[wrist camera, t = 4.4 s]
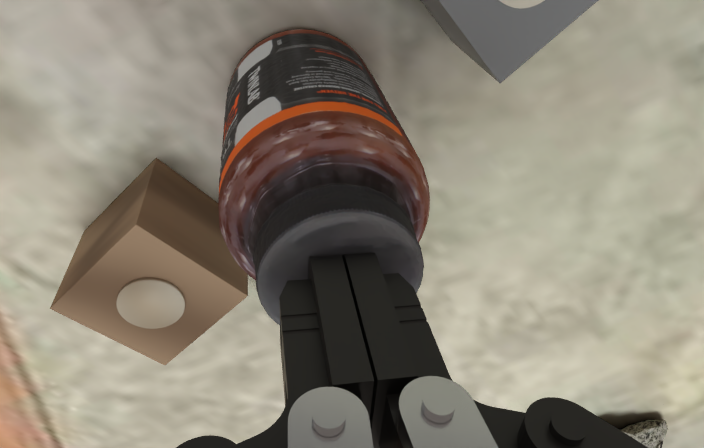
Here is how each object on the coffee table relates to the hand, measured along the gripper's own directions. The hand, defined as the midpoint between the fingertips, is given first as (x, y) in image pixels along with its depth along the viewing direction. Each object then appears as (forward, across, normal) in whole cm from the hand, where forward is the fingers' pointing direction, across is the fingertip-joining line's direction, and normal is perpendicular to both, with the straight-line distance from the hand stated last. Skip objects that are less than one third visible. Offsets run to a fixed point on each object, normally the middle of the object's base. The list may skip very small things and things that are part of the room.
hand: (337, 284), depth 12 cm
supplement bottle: (+12, 0, 0) cm, 12 cm away
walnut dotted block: (+12, +6, +6) cm, 14 cm away
